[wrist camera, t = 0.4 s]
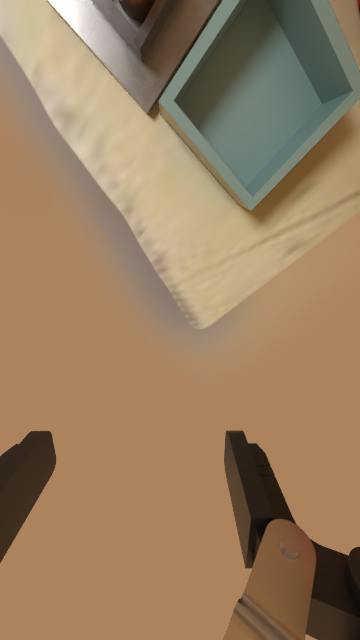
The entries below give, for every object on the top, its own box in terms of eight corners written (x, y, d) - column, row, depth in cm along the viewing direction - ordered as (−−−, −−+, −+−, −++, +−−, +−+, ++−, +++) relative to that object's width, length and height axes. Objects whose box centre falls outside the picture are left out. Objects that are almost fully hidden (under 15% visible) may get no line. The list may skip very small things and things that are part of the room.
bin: (160, 114, 26) (158, 101, 21) (257, -35, 21) (285, -98, 16) (237, 204, 32) (250, 210, 27) (330, 105, 27) (368, 89, 22)
